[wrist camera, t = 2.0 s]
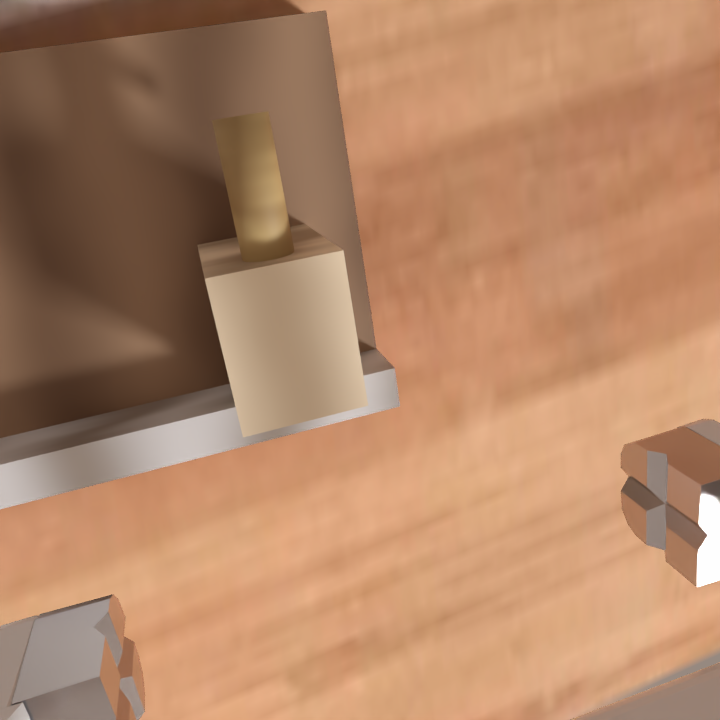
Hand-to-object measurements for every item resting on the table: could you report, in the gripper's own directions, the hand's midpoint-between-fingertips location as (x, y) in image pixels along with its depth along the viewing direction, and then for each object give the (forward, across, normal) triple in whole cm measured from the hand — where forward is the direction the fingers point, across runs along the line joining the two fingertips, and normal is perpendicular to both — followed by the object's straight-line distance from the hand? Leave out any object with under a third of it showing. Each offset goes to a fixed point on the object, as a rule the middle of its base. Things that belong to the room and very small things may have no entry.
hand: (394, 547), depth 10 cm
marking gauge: (+16, 0, -2) cm, 16 cm away
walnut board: (+18, +7, -3) cm, 20 cm away
